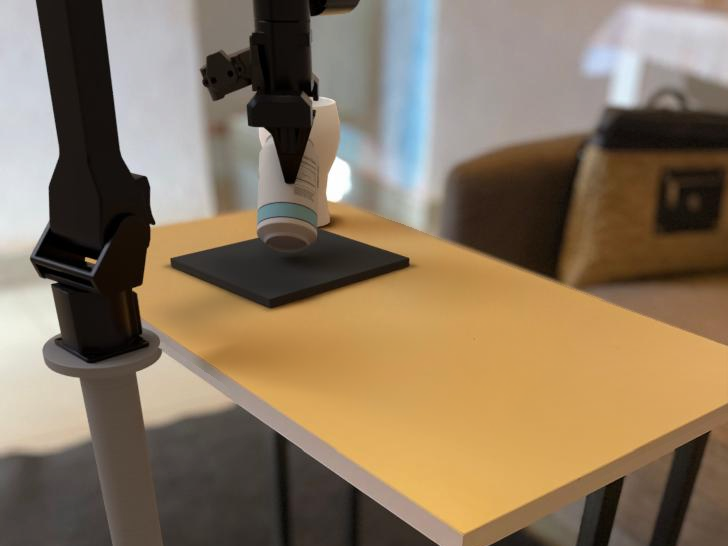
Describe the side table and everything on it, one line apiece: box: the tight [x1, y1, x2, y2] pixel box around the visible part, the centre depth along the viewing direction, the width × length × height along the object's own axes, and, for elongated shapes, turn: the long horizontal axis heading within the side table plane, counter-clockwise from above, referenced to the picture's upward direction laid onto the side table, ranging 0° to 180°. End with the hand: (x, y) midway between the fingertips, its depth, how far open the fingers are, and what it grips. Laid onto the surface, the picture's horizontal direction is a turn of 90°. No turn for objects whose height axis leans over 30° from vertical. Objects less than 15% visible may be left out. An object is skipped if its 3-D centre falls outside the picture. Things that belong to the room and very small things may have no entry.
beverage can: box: [256, 135, 319, 253], centre depth 97 cm, size 7×7×12 cm
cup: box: [258, 96, 341, 228], centre depth 112 cm, size 11×11×15 cm
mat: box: [169, 227, 411, 309], centre depth 100 cm, size 22×18×1 cm
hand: (290, 183), depth 93 cm, fingers closed
